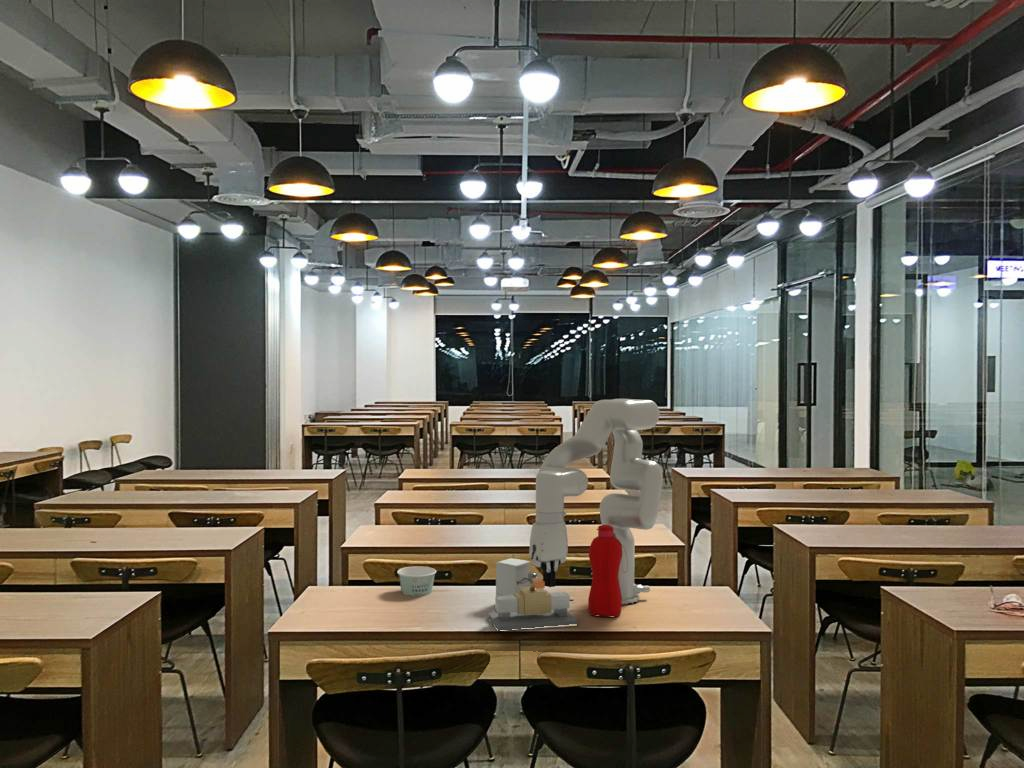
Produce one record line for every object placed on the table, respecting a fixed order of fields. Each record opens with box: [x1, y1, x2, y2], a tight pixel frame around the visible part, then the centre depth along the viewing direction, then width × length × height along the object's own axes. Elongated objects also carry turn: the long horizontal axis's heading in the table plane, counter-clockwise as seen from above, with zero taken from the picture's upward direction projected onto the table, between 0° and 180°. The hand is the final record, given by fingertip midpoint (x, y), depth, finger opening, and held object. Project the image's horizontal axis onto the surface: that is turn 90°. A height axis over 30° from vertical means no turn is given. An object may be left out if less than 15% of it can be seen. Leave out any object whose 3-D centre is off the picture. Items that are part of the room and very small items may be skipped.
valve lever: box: [528, 571, 546, 589], centre depth 234 cm, size 10×3×2 cm, turn 11°
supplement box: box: [495, 557, 531, 596], centre depth 255 cm, size 7×7×13 cm
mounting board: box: [487, 609, 579, 632], centre depth 238 cm, size 22×12×2 cm, turn 104°
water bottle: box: [587, 524, 628, 617], centre depth 246 cm, size 9×11×25 cm
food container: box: [396, 565, 437, 597], centre depth 268 cm, size 12×12×6 cm
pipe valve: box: [494, 581, 571, 621], centre depth 238 cm, size 20×6×10 cm, turn 104°
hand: (549, 585), depth 233 cm, fingers closed
